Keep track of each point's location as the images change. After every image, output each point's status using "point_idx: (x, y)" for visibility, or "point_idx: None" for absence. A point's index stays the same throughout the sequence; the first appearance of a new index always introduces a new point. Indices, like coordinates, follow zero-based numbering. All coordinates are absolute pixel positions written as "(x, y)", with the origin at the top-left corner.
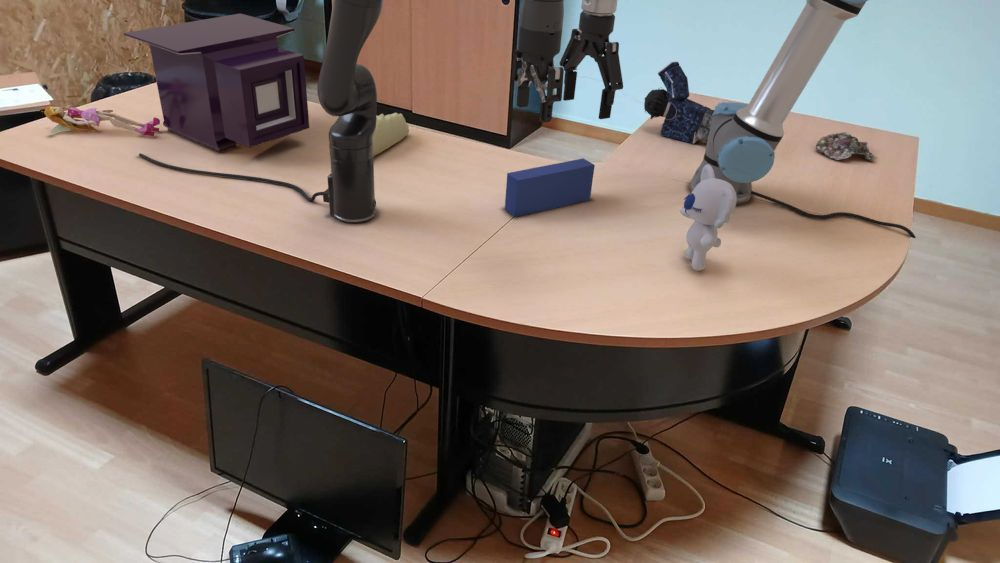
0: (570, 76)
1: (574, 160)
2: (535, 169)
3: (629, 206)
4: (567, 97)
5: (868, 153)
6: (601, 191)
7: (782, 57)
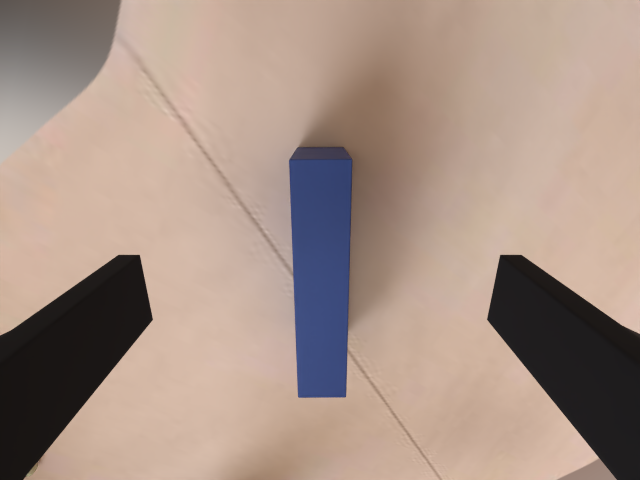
0: (27, 433)
1: (294, 199)
2: (306, 333)
3: (422, 68)
4: (139, 313)
5: None
6: (313, 80)
7: None
